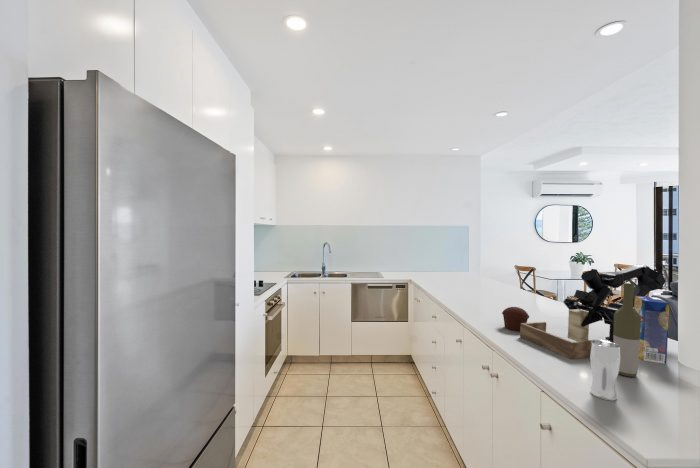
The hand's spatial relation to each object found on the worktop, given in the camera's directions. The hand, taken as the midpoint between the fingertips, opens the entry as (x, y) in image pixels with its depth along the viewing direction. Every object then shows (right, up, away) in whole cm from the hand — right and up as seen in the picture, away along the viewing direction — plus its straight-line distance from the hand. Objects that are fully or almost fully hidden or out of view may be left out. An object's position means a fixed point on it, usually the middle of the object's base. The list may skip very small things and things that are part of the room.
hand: (575, 324), depth 139 cm
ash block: (+1, -7, +1) cm, 7 cm away
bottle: (-2, -9, -28) cm, 29 cm away
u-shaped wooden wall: (-10, -8, -2) cm, 13 cm away
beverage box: (+19, -9, -12) cm, 25 cm away
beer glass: (-21, -9, -43) cm, 48 cm away
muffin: (-15, -8, +20) cm, 26 cm away
